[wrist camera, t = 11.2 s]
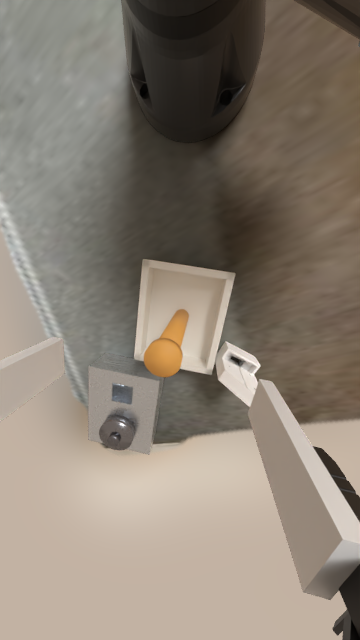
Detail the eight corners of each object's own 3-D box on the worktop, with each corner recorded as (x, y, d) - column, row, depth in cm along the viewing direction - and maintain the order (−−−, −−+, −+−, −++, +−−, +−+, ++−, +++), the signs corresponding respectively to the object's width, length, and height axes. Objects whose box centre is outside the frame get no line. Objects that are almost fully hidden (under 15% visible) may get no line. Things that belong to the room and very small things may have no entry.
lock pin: (173, 305, 28) (145, 339, 14) (192, 308, 28) (184, 346, 14) (171, 323, 29) (142, 373, 15) (189, 326, 29) (178, 380, 15)
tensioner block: (105, 352, 33) (77, 375, 26) (165, 365, 32) (155, 391, 25) (102, 418, 37) (79, 453, 30) (156, 430, 37) (145, 470, 29)
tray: (149, 260, 27) (142, 258, 24) (231, 273, 26) (235, 273, 23) (141, 350, 32) (133, 359, 29) (210, 364, 31) (211, 375, 28)
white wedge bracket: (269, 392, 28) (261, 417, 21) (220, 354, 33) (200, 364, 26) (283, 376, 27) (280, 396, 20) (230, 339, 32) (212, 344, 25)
